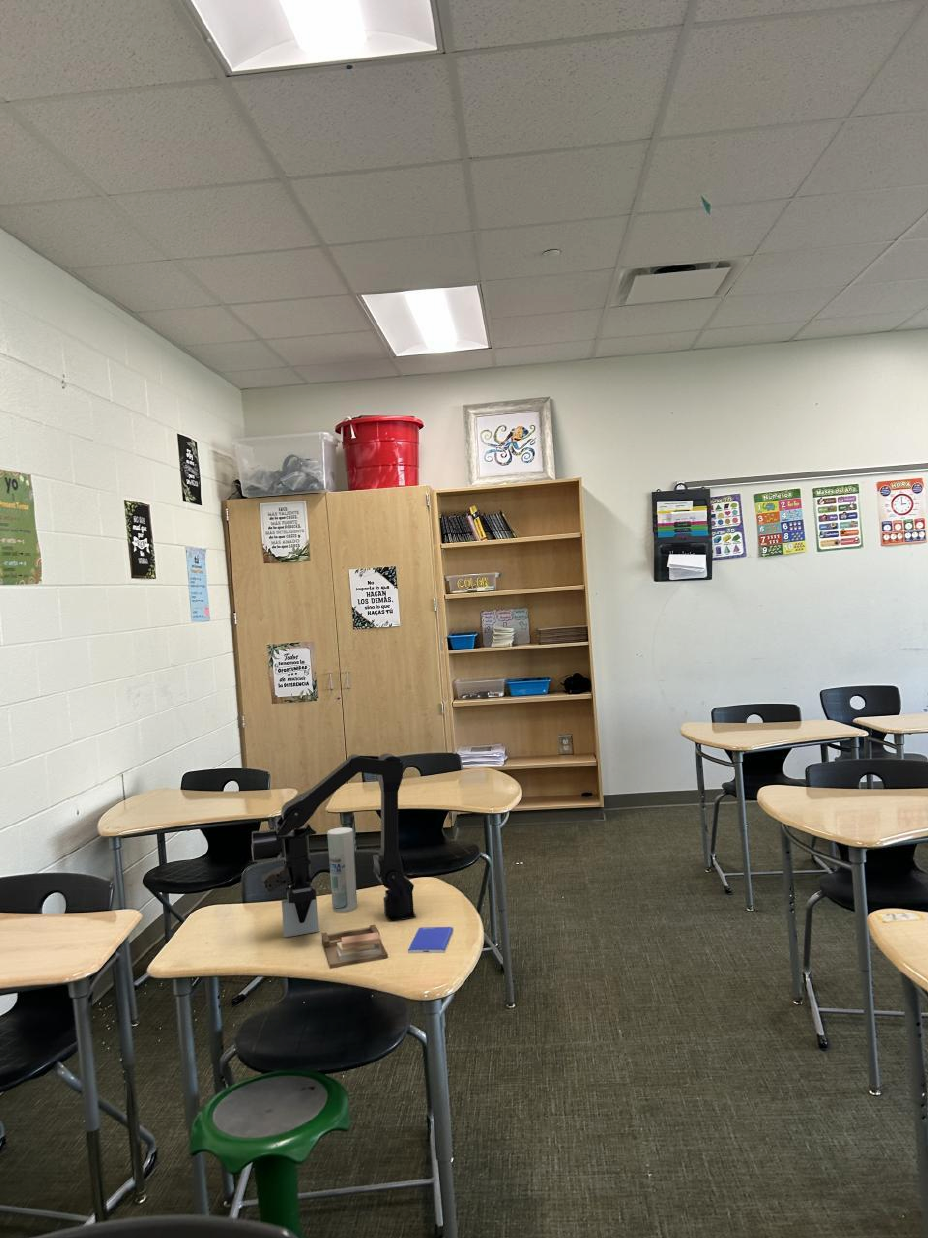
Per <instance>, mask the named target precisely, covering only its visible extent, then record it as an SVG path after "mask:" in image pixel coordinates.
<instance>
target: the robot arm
mask: <svg viewBox="0 0 928 1238" xmlns="http://www.w3.org/2000/svg"><path fill="white" fill-rule="evenodd" d="M404 768H405V767H404V763H403V760H401V759H400V758H399V757H398V756H395V755H394V754H392V753H388V752H387V753H383V754H382V753H381V754H380V755H378V756H377V755H359V754H351V755H349V756H348V757H347V758H346V759H345V761H344V762H342V763H341V764H340V765H338V766H337V767H336V768H335V769H333V770H332V771H331V772H330V773H329V774H328V775H327V776H325V777H324V778H323V779H321V780H320V781H319V782H318V783H317V784H315V785H314V786H313V787H311V789H309V790H307V791H305V792H303V793H300V794H299V795H296V796H295V797H293V798H291V799H289V800H287V801H286V802H285V803H283V805H282V807H281V812H280V814H281V815H280V817H279V818H278V820H277V821H276V824H275V825H274V826H273V829H267V830H253V831H251V856H252V862H255V863H256V862H261V861H266V860H267V861H268V860H274V859H275V860H276V859H278V858H279V857H278V856H280V855H281V854H282V853H283V848H284V859H283V865H281V866H279V867H277V868H274V869H272V870H271V871H269V872H267V873H265V874H263V875H262V876H261V877H260V879H261V882H262V885H263V887H264V889H265V891H266V893H267V894H269V893H272V892H273V891H274V890H275V889H277V888H280V887H281V886H283V885H285V892H286V893H287V895H286V897H287V899H288V902H289V903H294V904H295V907H296V911H297V915H298V918H299V922H300V923H304V922H305V919H306V916H307V913H308V910H309V907H310V904H311V902H312V900H315V899H316V898H317V891H316V888H315V885H314V884H312V883H311V882H313V877H312V875H311V874H312V873H311V863H312V861H311V858H310V857H311V856H310V845H309V844H310V843H309V842H310V841H309V836H312V835H316V834H317V831H316V829H315V828H314V827H312V826H311V824H310V823H309V822H308V821H309V820H310V819H311V817H312V816H313V815H314V814H315V813H316V811H317V810H318V808H319V807H320V806H321V804H322V803H324V802H326V800H327V799H329V797H331V796H332V795H333V794H335V792H337V791H338V790H339V789H340V788H341V787H343V786H344V785H345V784H347V782H349V781H350V780H351V779H352V778H353V777H355V776H357V774H358V773H361V774H363V773H364V774H371V775H376V778H377V783H378V785H379V789H380V849H379V853H378V854H373V855H372V856H373V857H372V858H373V868H372V871H373V873H374V874H375V876H376V878H377V879H378V881H379V882H380V883H381V885H382V886H383V887H384V888H385V891H384V893H385V896H383V899H382V900H383V912H384V915H385V917H387V919H388V921H389V922H393V921H401V920H407V919H412V918H416V916H417V914H416V913H415V911H414V894H413V892H414V887H415V885H414V884H413V882H411V880H409V878H408V877H407V876H406V875H405V874H404V873H405V872H404V868H403V862H402V858H401V855H400V851H399V790H400V788H401V785H402V782H403V777H404ZM282 840H283V843H282Z"/></svg>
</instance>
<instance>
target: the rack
mask: <svg viewBox="0 0 928 1238" xmlns="http://www.w3.org/2000/svg"><path fill="white" fill-rule="evenodd" d="M377 932H378V933H379V934H380V932H379V929H378V928H377V925H376V924H370V925H369V926H368V927H362V928H361V927H360V928H357V929H351V930H350V929H349V930H344V931H339V932H338V931H337V932H331V933H328V932H322V933H321V944H322V947H323V951H324V954H325V956H326V960H327V964H328V966H329V969H335V968H340V967H345V966H352V965H356V964H362V963H368V962H373V961H379V960H384V959H388V958H389V957H388V952H387V951H386V948H385V946H384V944H383V942H382V941H381V939H380V943H379V945H380V947H381V953H382V954H379V955H374V956H368V957H362V958H357V959H351V960H346V961H339V958H338V955H337V943H339V942H342V937H348V936H356V935H363V934H370V933H377ZM379 937H381V936H380V935H379Z"/></svg>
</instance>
